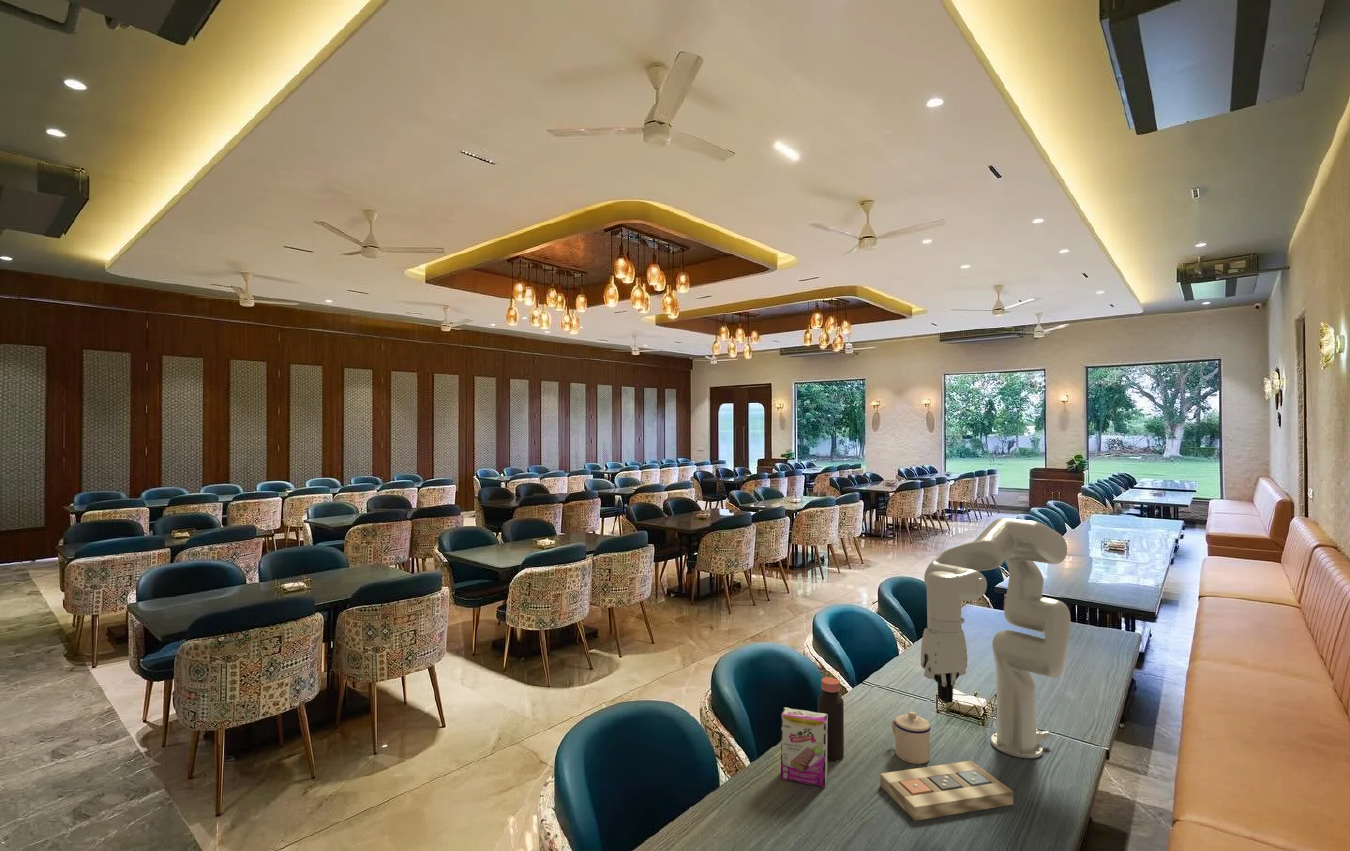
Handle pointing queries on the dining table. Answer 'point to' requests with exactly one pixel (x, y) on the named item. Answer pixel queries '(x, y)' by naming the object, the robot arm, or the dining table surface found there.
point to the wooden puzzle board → (945, 800)
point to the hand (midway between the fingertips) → (945, 700)
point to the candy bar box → (804, 746)
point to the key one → (915, 787)
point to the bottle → (833, 717)
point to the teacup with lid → (912, 738)
